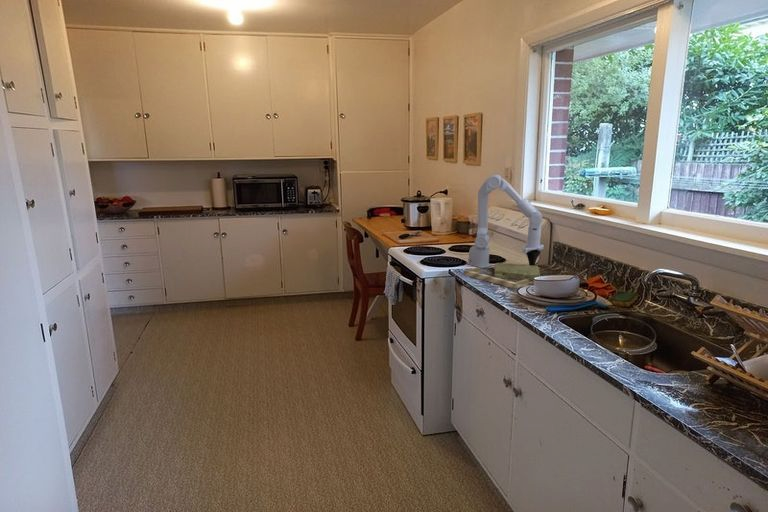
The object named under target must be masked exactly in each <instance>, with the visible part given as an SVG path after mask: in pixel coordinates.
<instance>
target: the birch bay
mask: <svg viewBox="0 0 768 512" xmlns="http://www.w3.org/2000/svg"><path fill="white" fill-rule="evenodd" d="M481 271H482V268H481V267H477V266H476V267H473V268H470V269H465V270H464V271H463V276H466V277H470V278H474V279H478V280H480V281H485V282H488V283H491V284H495V285H496V284H497V285H499V286H503V287H506V288H511V289H513V290H515V289H518V288H522V287H525V286H527V285H530V283H529V282H530V280H528V279H524V280H518V281H515V282H514V281H512V280H507V279H504V278H498V277H494V276H492V275H487V274H484V273H481Z"/></svg>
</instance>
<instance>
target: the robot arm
mask: <svg viewBox="0 0 768 512" xmlns="http://www.w3.org/2000/svg"><path fill="white" fill-rule="evenodd" d="M498 188H499V189H498ZM497 189H498V191H501V192H505V193H506V194H507V195H508V196H509V197H510V198H511V199H512V201H514V202H516V204H517V205H516V208H517V209H518V210H519V211H520V212H521V213H522V215H523V216H524V217H525V218H528V221H529V224H528V229H527V230H528V231H527V240H526V241H527V242H526V243H527V244H526V246H525V247H523V248H522V251H521V252H522V253H525V255H526V258H527V259H528V260H527V261H528V265H533V266H536V263H537V259H538V258H539V256H540V255H541V253H542V251H541V250H544V246H545V245H544V244H541V236H542V222H543V214H542V213H541V211H540V210H539V208H537V207H535V206H534V204H532V201H531V200H530V199H527V198H522V197H521V195H520V194H519V193H518V192H517V191H516V190H515V188H513V186H512V185H511V184H510V183H509V182H508V181H507V180H506V179H505V178H503V177H502V176H501V175H500V174H496V173H494V174H492V175H490V176H489V177H488V178H486V179H485V180H484V182H483V184H482V185H481V186H480V188H479V189H478V191H477V230H476V237H475V238H474V245H473V246H471V247H470V248H469V250H468V251H469V252H468V263H467V265H469V266H473V267H476V268H477V267H479V268H481V269H484V268H487V267H491V266H493V264H492V263H490V245H489V243H490V241H491V237H490V234H489V228H488V225H489V222H488V220H489V195H490V194H491V193H492V192H493V191H495V190H497Z"/></svg>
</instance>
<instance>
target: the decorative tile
mask: <svg viewBox="0 0 768 512" xmlns="http://www.w3.org/2000/svg"><path fill="white" fill-rule="evenodd" d="M493 268H494V269H493V272H494V274H493V277H496V278H500V279H513V280H518V281H521V280H524V279H528V280H529V281H534V280H533V279H534V278H535V277H539V276H540V277H541V274H540V269H539V266H538V265H535V266H533V265H529V264H520V263H519V264H518V263H517V264H516V263H503V262H496V263H495V264H494V267H493Z"/></svg>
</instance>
